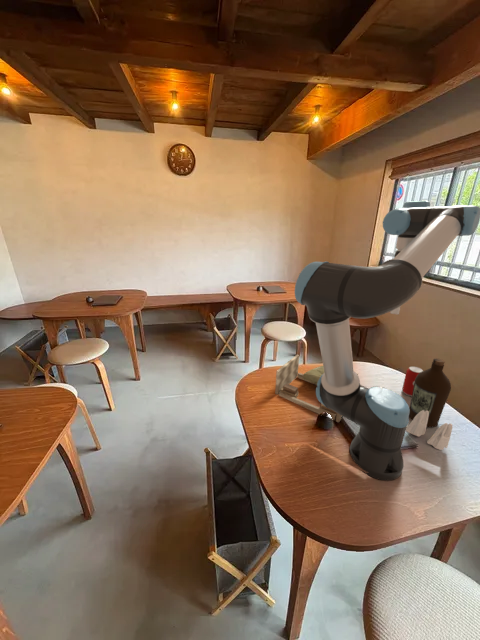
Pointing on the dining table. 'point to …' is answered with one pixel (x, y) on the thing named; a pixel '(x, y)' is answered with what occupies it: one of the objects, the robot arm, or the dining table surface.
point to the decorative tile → (314, 374)
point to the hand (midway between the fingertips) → (397, 308)
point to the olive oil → (430, 392)
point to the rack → (287, 376)
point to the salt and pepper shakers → (439, 437)
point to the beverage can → (410, 380)
